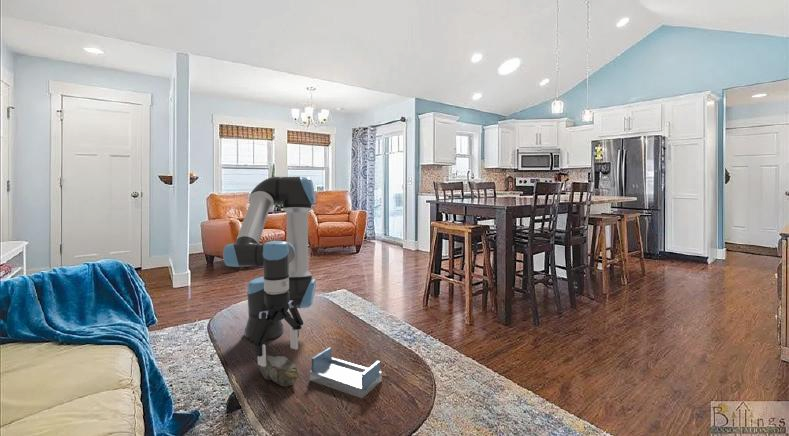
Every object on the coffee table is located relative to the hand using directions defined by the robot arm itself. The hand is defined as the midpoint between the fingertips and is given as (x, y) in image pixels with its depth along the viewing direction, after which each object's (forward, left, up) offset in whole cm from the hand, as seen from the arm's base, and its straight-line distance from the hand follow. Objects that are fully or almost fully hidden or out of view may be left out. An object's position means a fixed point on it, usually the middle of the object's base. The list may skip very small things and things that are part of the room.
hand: (278, 356), depth 122 cm
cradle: (+19, +10, -8) cm, 23 cm away
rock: (-1, +1, -8) cm, 8 cm away
